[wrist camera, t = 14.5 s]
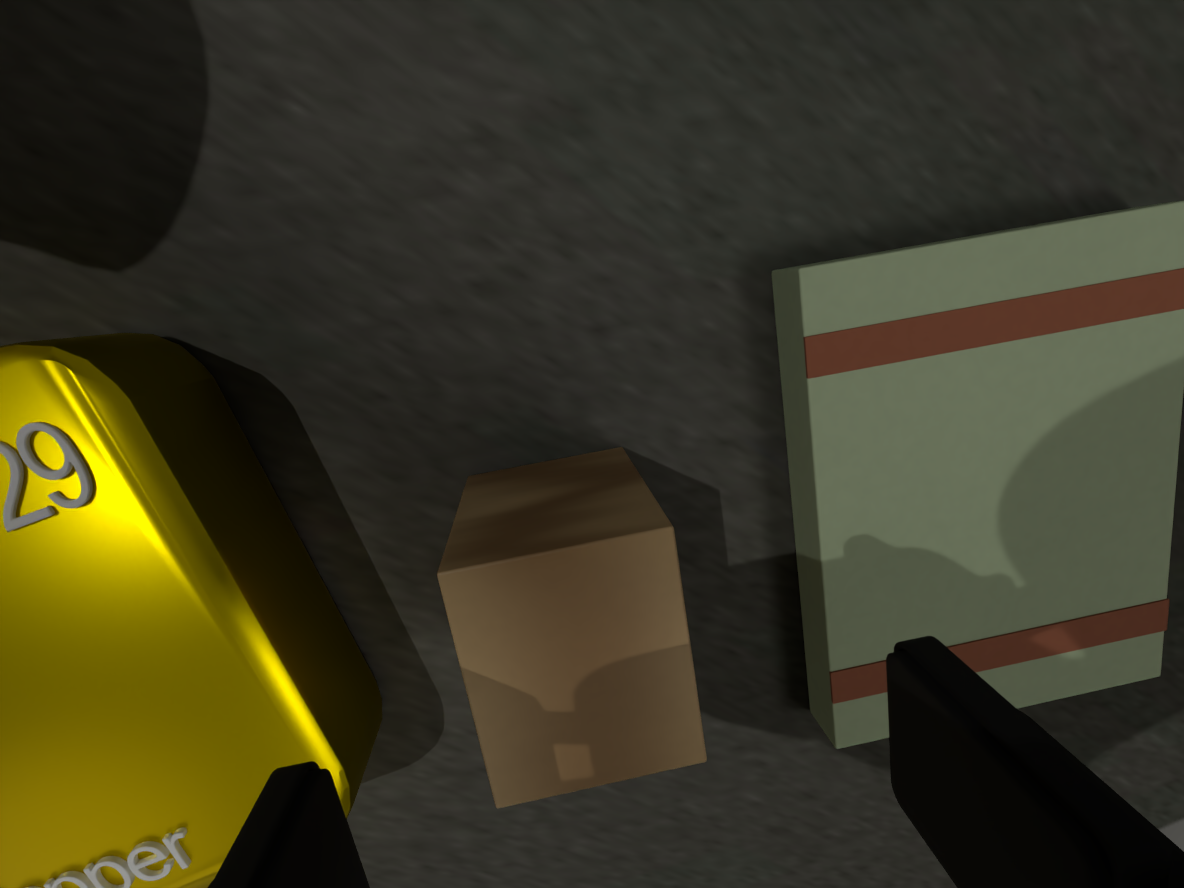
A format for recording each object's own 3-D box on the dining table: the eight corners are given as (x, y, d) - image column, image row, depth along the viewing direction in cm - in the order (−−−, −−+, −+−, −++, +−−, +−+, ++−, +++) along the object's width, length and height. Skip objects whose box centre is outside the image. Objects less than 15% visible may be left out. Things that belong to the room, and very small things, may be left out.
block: (622, 446, 19) (674, 526, 13) (649, 612, 21) (708, 763, 14) (467, 475, 19) (435, 573, 12) (505, 641, 21) (496, 810, 14)
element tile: (-6, 885, 21) (-158, 1054, 16) (-325, 498, 17) (-645, 574, 12) (406, 726, 21) (373, 849, 16) (184, 308, 17) (58, 314, 13)
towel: (1133, 207, 19) (1202, 197, 17) (1108, 645, 23) (1163, 678, 21) (770, 270, 19) (799, 267, 17) (809, 711, 23) (836, 751, 21)
